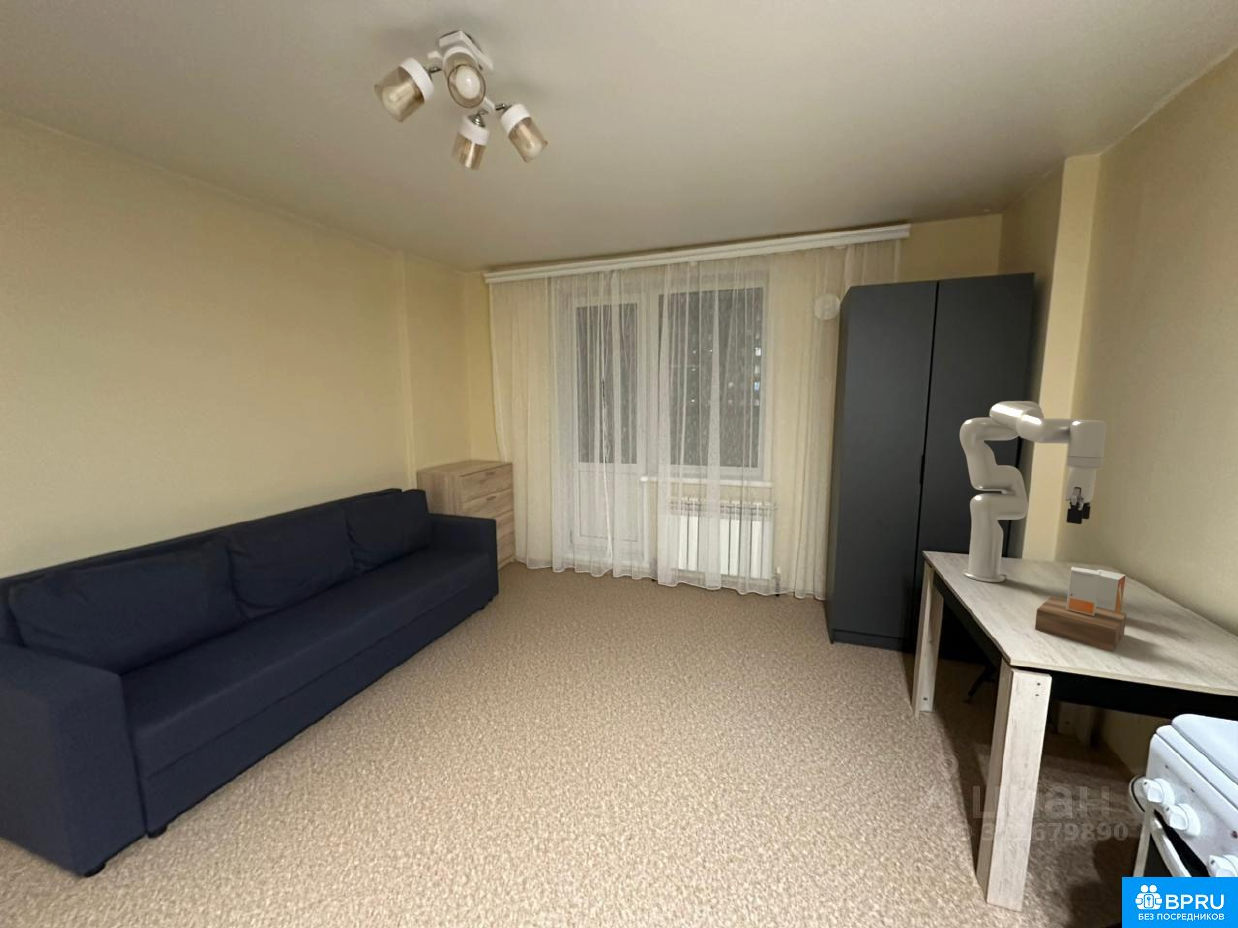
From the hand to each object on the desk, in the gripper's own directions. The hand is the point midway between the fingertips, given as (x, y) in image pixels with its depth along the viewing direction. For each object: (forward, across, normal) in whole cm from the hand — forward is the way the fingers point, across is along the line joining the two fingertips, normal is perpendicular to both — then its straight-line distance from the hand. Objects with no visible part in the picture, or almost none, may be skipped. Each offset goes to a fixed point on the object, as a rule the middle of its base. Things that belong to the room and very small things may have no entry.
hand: (1077, 520), depth 143 cm
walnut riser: (+30, +8, +4) cm, 32 cm away
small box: (+31, -13, +6) cm, 34 cm away
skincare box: (+24, +8, +4) cm, 26 cm away
